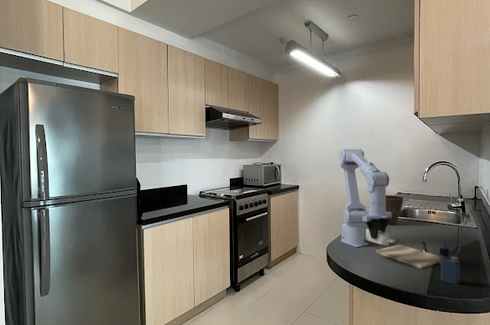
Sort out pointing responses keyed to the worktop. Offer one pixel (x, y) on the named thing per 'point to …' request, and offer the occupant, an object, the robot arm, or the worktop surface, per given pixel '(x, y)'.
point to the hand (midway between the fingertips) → (377, 237)
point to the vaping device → (449, 266)
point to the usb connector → (379, 238)
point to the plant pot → (393, 207)
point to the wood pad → (409, 256)
